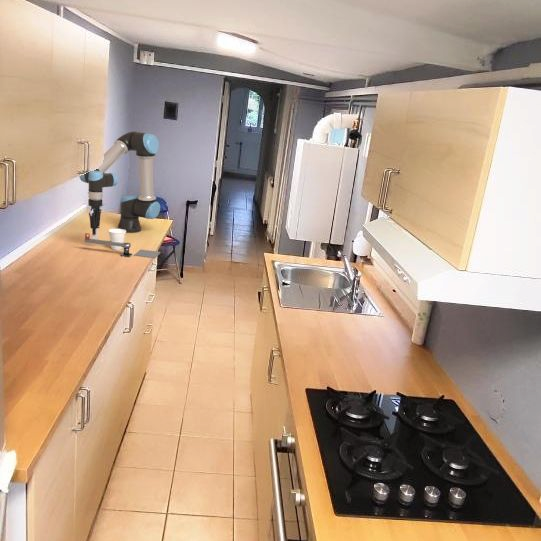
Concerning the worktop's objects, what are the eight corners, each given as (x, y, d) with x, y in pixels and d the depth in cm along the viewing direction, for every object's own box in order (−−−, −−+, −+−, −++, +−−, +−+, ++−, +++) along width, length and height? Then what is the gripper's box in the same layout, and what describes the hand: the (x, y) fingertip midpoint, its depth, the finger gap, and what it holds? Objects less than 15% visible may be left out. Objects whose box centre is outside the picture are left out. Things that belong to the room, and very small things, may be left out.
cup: (123, 252, 314) (123, 233, 310) (105, 250, 314) (106, 231, 310) (127, 247, 323) (128, 229, 320) (111, 246, 323) (111, 227, 320)
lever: (86, 240, 310) (86, 232, 308) (131, 246, 308) (131, 238, 307) (83, 242, 305) (83, 234, 304) (129, 248, 304) (129, 239, 303)
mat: (140, 250, 321) (140, 249, 321) (160, 252, 320) (160, 251, 320) (134, 255, 309) (134, 254, 309) (154, 258, 309) (155, 257, 309)
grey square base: (123, 253, 310) (123, 245, 309) (132, 254, 310) (132, 246, 309) (120, 256, 306) (120, 247, 304) (129, 257, 305) (129, 249, 304)
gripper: (93, 196, 314) (92, 236, 321) (84, 199, 302) (84, 241, 309) (106, 197, 314) (105, 237, 321) (97, 201, 301) (97, 242, 308)
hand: (94, 239), depth 315 cm, fingers closed
